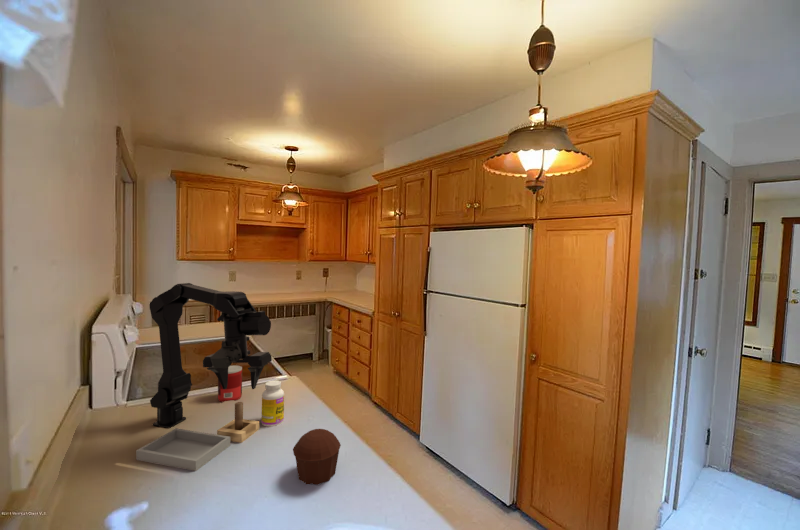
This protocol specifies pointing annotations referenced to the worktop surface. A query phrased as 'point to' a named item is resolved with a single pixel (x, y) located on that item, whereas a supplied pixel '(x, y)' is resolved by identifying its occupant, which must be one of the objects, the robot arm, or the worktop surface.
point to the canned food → (231, 385)
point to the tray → (183, 449)
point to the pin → (239, 416)
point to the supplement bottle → (272, 404)
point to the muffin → (316, 456)
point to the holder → (239, 435)
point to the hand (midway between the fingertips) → (239, 389)
